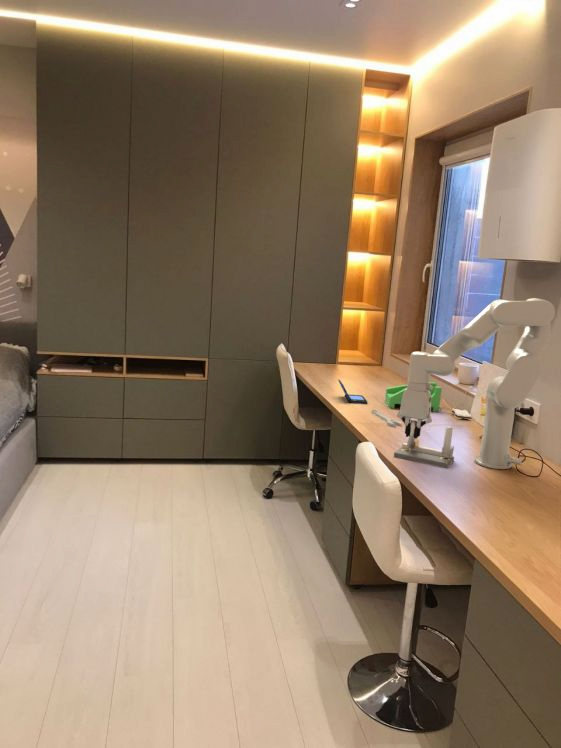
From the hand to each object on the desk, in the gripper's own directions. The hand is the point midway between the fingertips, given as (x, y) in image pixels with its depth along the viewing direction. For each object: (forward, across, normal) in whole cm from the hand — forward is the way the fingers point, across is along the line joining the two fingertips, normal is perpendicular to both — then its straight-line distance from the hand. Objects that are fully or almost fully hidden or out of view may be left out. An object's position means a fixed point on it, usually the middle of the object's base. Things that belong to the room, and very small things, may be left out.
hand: (412, 436), depth 225 cm
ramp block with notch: (+8, +23, -81) cm, 84 cm away
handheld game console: (+8, +51, -73) cm, 89 cm away
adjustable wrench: (+8, +24, -46) cm, 53 cm away
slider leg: (+5, 0, -2) cm, 5 cm away
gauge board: (+7, -5, 0) cm, 9 cm away
